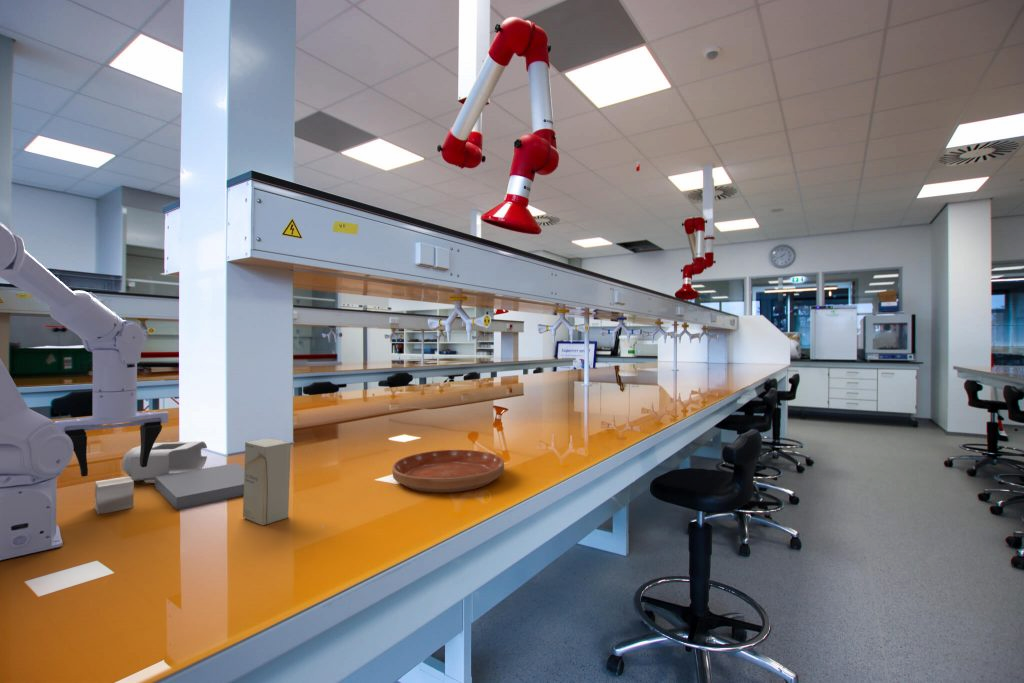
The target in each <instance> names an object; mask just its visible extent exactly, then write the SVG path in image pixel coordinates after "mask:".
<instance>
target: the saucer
mask: <svg viewBox="0 0 1024 683" xmlns="http://www.w3.org/2000/svg"><path fill="white" fill-rule="evenodd" d="M392 464H393V465H392V467H391V470H392V477H393V479H394V480H395V482H398V483H399V484H402V485H403V486H405V487H407V488H409V489H411V490H414V491H419V492H426V493H439V494H440V493H441V494H442V493H457V492H465V491H471V490H474V489H478V488H482V487H484V486H487V485H489V484H490V483H492V482H494V480H496V479H498V478H499V477H501V476H502V475H503V473H504V471H505V462H504V459H503V458H502V457H501V456H500V455H497V454H494V453H491V452H486V451H481V450H471V449H444V450H443V449H442V450H441V449H440V450H432V451H425V452H419V453H415V454H411V455H408V456H405V457H402V458H400V459H398V460H397V461H395V462H394V463H392Z"/></svg>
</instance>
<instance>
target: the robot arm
mask: <svg viewBox="0 0 1024 683" xmlns="http://www.w3.org/2000/svg"><path fill="white" fill-rule="evenodd" d="M0 278H1V279H3V280H5V281H6V282H8V283H10V284H11V285H13V286H15V287H16V288H18V289H20V290H21V291H23V292H24V293H26V294H27V295H30V296H32V297H33V298H35V299H36V300H38V301H40V302H42V303H44V304H45V305H47V306H48V307H49V311H48V312H49V316H50V317H51V319H53V320H54V321H56V322H58V323H59V324H60V325H62V326H64V327H65V328H66V329H68V330H69V331H71V332H73V333H74V334H75V335H77V337H79V338H80V339H81V343H82V345H83V347H84V349H85V350H86V351H87V352H90V353H92V416H89V417H79V418H72V419H71V418H70V419H63V420H55V421H54V420H52V419H50V418H49V417H47V416H45V415H43V414H41V413H38V412H37V411H34V410H33V409H31V408H29V407H28V405H27V403H26V401H25V399H24V398H23V396H22V394H21V392H20V390H19V388H18V387H17V385H16V383H15V381H14V380H13V378H12V376H11V375H10V372H9V371H8V369H7V367H6V365H5V364H4V362H3V360H2V358H1V357H0V561H3V560H7V559H11V558H16V557H21V556H25V555H30V554H34V553H38V552H43V551H47V550H52V549H55V548H60V547H62V546H63V539H62V534H61V530H60V526H59V525H57V501H58V500H57V493H58V492H57V490H58V487H57V486H58V483H57V482H58V481H57V480H58V477H61V476H62V475H63V472H64V470H65V469H66V468H67V467H68V466H69V464H70V462H72V458H73V455H74V454H75V456H76V459H77V462H78V465H79V470H80V471H79V472H80V476H81V477H82V478H83V477H88V474H89V468H88V459H87V451H88V450H87V449H88V448H87V446H88V436H87V431H94V430H95V431H96V430H106V429H115V428H123V427H124V428H126V427H133V426H134V427H135V426H139V431H140V432H139V433H140V445H141V451H140V466H141V467H147V463H148V458H149V455H150V452H151V449H152V447H153V444H154V443H156V440H157V438H158V437H159V435H160V434H161V432H162V429H163V425H162V424H168V423H169V411H167V410H165V411H151V412H137V410H138V408H137V404H138V402H137V401H138V400H137V399H138V398H137V396H138V395H137V394H138V364H139V363H140V361H141V358H142V356H141V353H142V352H143V349H144V348H145V346H146V344H147V336H145V332H144V330H143V328H142V326H140V325H139V324H137V323H136V322H135V321H132V320H123V319H122V318H121V317H120V316H119V315H118V313H117V312H115V311H114V310H111V309H109V307H107V306H106V305H105V304H103V303H102V302H101V301H99V300H98V299H97V298H98V296H97V295H96V294H94V293H93V292H92V291H90V292H89V291H88V292H87V291H85V290H72V289H71V288H69V287H68V286H67V285H66V284H65V283H64V282H62V281H61V280H60V279H59V278H58V277H56V276H55V274H53V273H52V272H51V271H50V270H49V269H47V268H46V267H45V266H44V265H43V264H41V263H40V262H39V261H38V260H37V259H36V258H35V257H34V256H32V255H31V254H30V253H29V252H28V251H27V250H26V249H25V243H24V240H23V238H22V237H20V236H19V235H17V234H15V233H13V232H11V230H10V229H9V228H8V227H7V226H6V225H5V224H3V223H2V222H1V221H0Z"/></svg>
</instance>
